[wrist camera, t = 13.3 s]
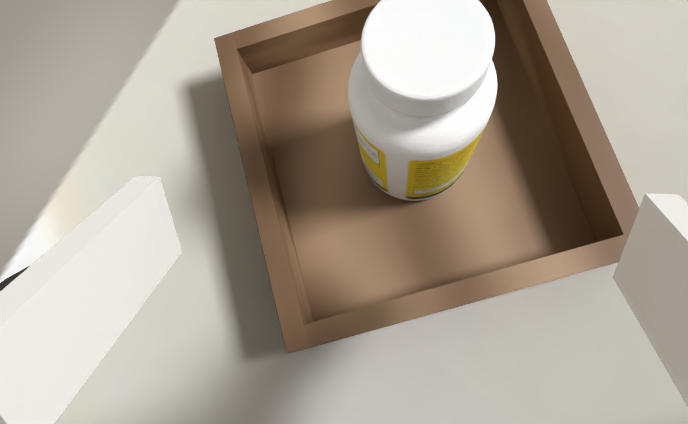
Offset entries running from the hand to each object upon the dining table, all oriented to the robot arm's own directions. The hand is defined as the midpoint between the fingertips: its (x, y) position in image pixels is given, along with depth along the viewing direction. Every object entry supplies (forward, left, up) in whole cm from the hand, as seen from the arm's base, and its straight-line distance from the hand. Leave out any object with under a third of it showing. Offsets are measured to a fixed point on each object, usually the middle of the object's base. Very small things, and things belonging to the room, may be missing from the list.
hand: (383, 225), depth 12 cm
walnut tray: (-3, -5, -10) cm, 12 cm away
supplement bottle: (-3, -5, -10) cm, 11 cm away
